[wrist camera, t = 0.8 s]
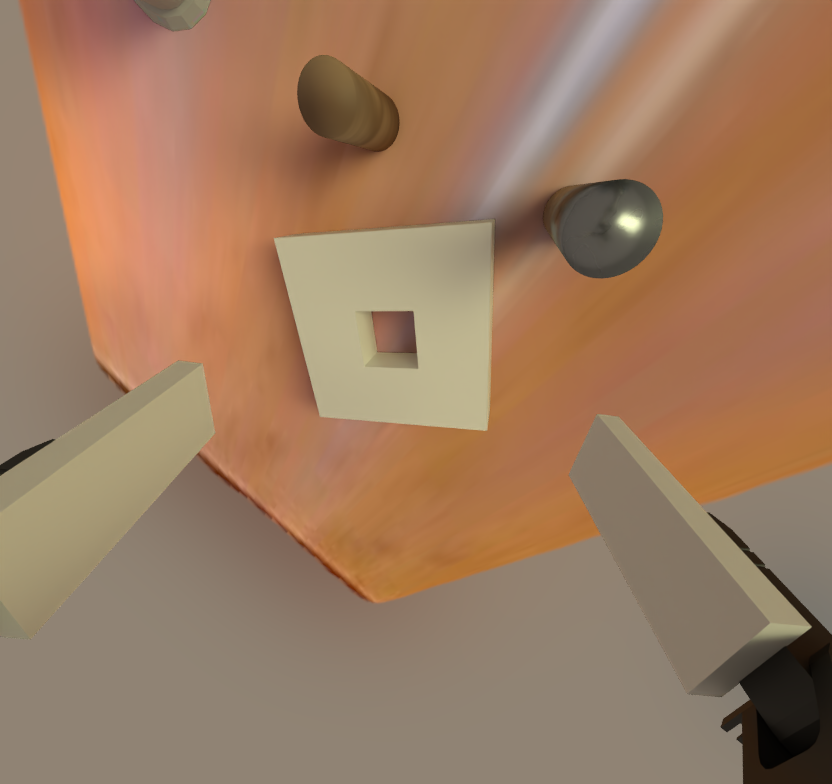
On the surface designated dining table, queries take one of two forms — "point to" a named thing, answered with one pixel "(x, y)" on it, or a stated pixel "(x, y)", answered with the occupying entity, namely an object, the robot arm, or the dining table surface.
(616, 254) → the metal pin
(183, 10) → the french press
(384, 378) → the hole plate
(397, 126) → the walnut pin
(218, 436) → the dining table surface
